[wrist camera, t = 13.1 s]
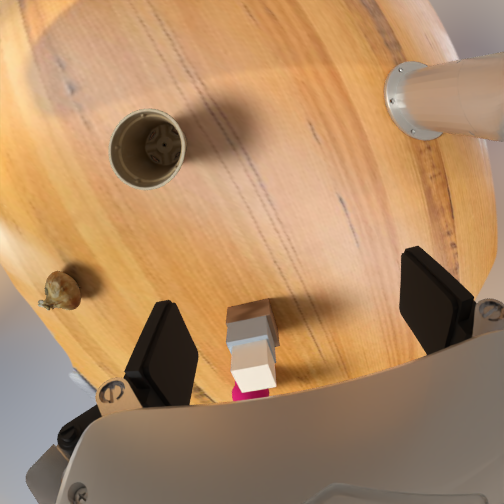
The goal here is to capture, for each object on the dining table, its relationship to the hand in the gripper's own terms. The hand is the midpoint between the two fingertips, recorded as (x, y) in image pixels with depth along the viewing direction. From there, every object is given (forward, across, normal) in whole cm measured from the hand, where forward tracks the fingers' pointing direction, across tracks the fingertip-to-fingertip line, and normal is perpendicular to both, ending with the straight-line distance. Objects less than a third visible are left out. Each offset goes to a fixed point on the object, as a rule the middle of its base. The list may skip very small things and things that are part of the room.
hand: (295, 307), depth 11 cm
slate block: (+26, +7, +22) cm, 35 cm away
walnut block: (+31, +7, +23) cm, 39 cm away
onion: (+31, +39, +9) cm, 50 cm away
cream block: (+22, +7, +23) cm, 32 cm away
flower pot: (+31, +12, -8) cm, 34 cm away
